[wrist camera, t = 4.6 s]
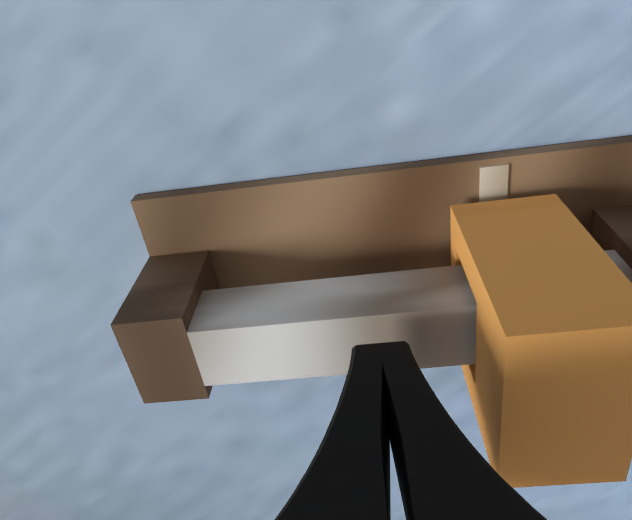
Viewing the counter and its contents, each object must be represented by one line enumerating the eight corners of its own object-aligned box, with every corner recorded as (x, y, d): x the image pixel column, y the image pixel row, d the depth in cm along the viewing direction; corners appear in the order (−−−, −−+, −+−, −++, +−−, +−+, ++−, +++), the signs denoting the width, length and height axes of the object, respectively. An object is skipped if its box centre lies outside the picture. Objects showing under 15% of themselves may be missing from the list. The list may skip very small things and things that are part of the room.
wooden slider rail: (667, 131, 15) (768, 191, 12) (628, 322, 19) (696, 412, 15) (135, 194, 17) (82, 264, 13) (192, 360, 21) (162, 450, 17)
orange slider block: (555, 193, 15) (665, 323, 10) (542, 324, 18) (625, 480, 13) (450, 205, 16) (506, 337, 11) (451, 332, 18) (497, 488, 13)
